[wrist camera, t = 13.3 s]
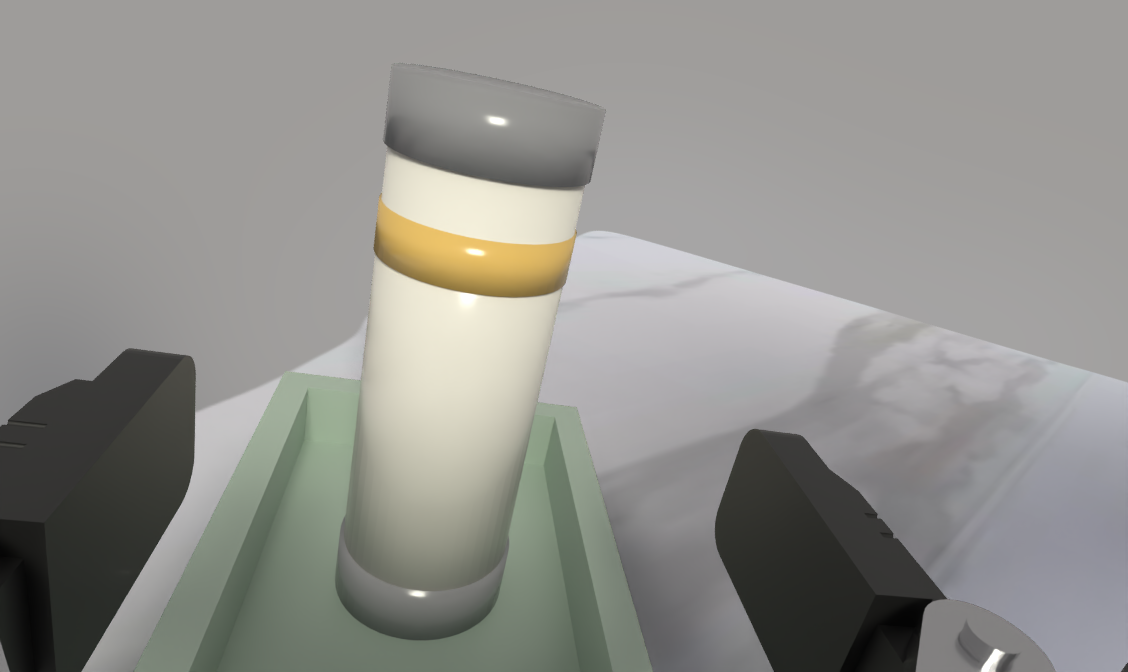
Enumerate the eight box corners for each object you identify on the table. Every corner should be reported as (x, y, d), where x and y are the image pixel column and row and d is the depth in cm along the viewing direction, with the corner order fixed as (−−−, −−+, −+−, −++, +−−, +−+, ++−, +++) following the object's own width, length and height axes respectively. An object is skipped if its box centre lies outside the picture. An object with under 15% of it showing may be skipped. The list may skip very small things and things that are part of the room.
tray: (561, 470, 30) (576, 407, 28) (643, 857, 16) (679, 764, 15) (280, 441, 27) (285, 371, 26) (99, 858, 14) (93, 750, 13)
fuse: (496, 531, 24) (588, 97, 19) (504, 645, 20) (626, 121, 14) (348, 518, 23) (400, 58, 18) (321, 635, 19) (380, 71, 13)
